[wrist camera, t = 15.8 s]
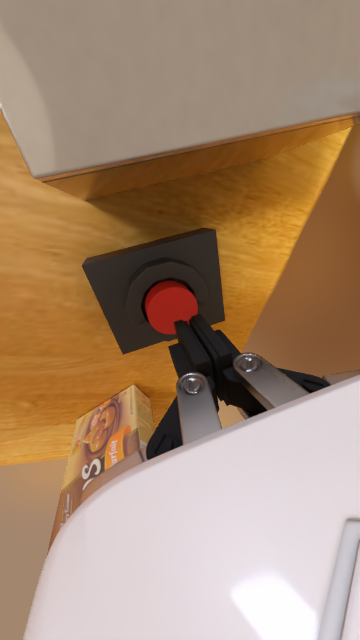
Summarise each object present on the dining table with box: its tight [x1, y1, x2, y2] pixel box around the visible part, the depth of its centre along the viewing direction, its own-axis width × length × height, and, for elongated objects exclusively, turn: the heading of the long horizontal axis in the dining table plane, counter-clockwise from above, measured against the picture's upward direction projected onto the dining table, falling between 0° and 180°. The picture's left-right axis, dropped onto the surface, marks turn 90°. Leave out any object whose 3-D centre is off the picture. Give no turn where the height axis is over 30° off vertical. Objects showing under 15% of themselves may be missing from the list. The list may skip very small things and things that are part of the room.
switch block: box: [82, 228, 225, 354], centre depth 18 cm, size 11×9×4 cm
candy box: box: [46, 384, 155, 558], centre depth 19 cm, size 9×4×15 cm, turn 120°
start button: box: [145, 281, 198, 334], centre depth 16 cm, size 4×4×2 cm
